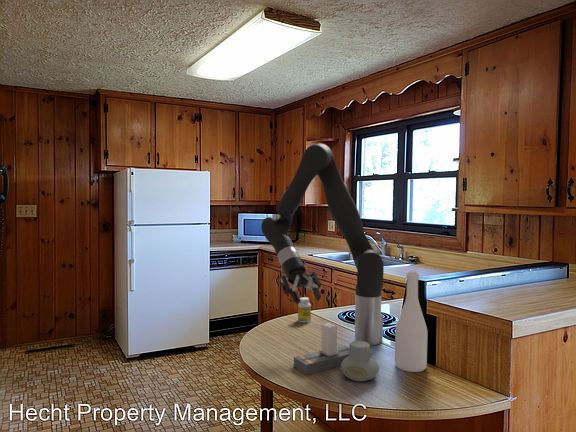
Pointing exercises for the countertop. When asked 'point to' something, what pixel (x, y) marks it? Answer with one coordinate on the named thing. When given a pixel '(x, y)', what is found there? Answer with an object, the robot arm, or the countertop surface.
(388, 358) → the countertop surface
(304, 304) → the supplement bottle
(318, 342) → the countertop surface
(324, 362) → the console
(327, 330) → the fader tab
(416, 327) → the wine bottle
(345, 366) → the air freshener
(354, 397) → the countertop surface
